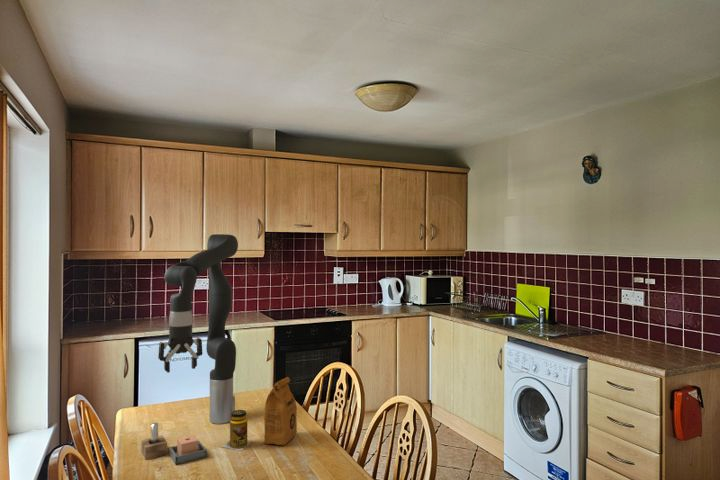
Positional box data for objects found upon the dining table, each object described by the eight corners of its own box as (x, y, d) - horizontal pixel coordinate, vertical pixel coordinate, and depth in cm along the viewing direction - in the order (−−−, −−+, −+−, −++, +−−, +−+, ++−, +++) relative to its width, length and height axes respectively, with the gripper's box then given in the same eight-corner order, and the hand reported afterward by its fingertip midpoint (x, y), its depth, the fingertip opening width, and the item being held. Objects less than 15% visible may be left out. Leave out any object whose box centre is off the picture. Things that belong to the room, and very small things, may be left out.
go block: (162, 446, 172) (162, 435, 172) (167, 454, 166) (167, 442, 166) (141, 451, 168) (141, 440, 168) (145, 459, 162) (145, 447, 162)
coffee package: (301, 435, 183) (301, 377, 182) (284, 449, 171) (284, 386, 171) (278, 431, 186) (278, 374, 186) (260, 444, 175) (260, 383, 174)
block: (198, 455, 165) (198, 440, 164) (181, 459, 161) (181, 444, 161) (193, 449, 169) (193, 434, 169) (177, 452, 166) (177, 438, 166)
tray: (198, 447, 172) (198, 440, 172) (206, 457, 164) (206, 449, 164) (169, 454, 166) (169, 447, 166) (175, 464, 159) (175, 457, 159)
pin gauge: (157, 450, 169) (157, 422, 169) (158, 453, 167) (158, 424, 167) (150, 452, 168) (150, 423, 167) (151, 454, 166) (151, 425, 166)
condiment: (241, 450, 170) (241, 416, 169) (220, 447, 172) (220, 413, 172) (252, 442, 176) (252, 409, 176) (232, 439, 179) (232, 406, 179)
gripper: (198, 320, 176) (198, 364, 176) (156, 324, 168) (156, 370, 168) (204, 323, 170) (204, 369, 170) (161, 327, 162) (161, 376, 162)
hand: (180, 370), depth 169 cm, fingers open, 8 cm apart
